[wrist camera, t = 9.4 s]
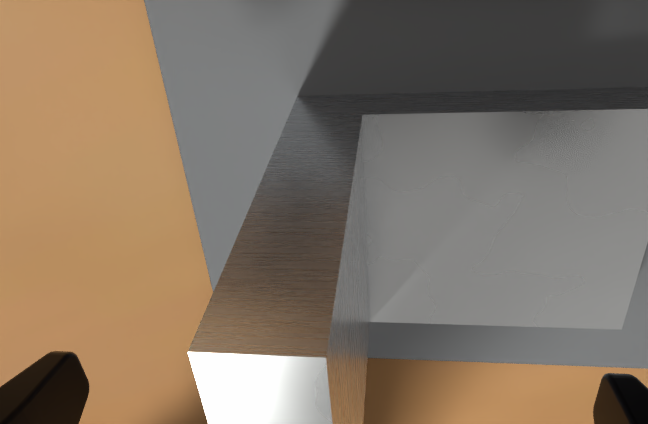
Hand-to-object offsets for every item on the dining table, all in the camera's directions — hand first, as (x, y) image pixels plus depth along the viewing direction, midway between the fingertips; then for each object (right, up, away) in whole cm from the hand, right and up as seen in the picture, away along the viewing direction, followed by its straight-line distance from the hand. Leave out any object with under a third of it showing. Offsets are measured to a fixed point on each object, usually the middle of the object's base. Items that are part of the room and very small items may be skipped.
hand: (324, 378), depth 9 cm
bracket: (+4, +3, +5) cm, 7 cm away
